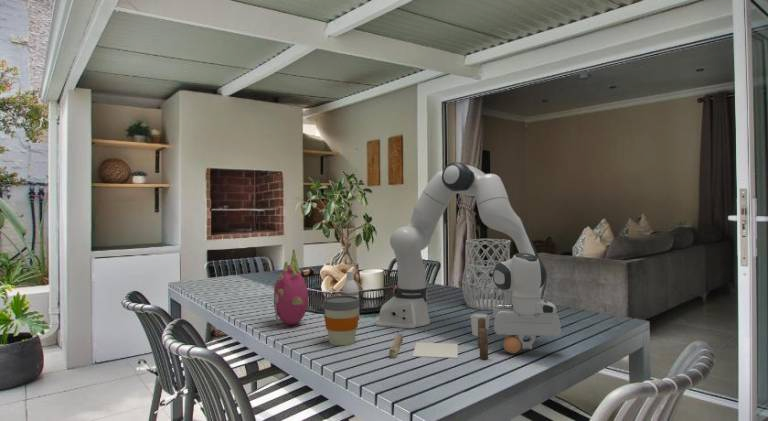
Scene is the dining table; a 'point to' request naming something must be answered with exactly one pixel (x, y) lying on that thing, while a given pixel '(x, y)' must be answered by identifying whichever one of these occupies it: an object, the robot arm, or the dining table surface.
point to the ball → (512, 344)
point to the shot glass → (475, 322)
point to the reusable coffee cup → (341, 319)
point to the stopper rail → (396, 345)
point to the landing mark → (436, 350)
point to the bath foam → (350, 286)
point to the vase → (466, 285)
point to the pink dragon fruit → (290, 294)
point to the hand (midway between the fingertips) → (526, 348)
